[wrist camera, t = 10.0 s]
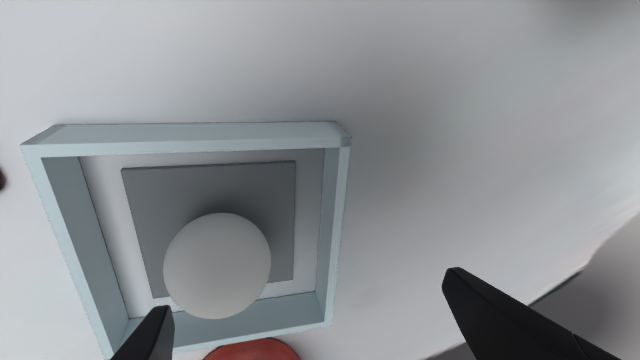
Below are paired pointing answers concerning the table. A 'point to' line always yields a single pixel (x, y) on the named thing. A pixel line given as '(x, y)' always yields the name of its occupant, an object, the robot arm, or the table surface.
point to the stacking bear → (254, 351)
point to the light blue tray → (122, 139)
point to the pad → (211, 207)
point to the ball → (217, 265)
